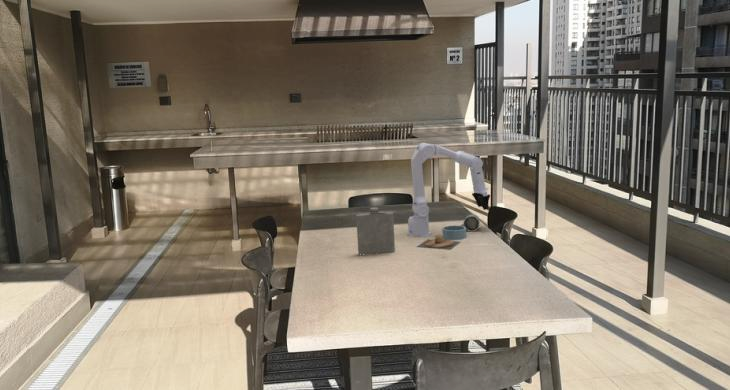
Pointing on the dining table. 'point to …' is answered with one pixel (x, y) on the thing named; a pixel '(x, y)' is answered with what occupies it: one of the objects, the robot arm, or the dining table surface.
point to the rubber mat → (440, 248)
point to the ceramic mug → (471, 222)
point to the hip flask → (375, 232)
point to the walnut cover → (438, 242)
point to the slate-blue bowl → (454, 232)
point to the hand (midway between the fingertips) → (483, 207)
